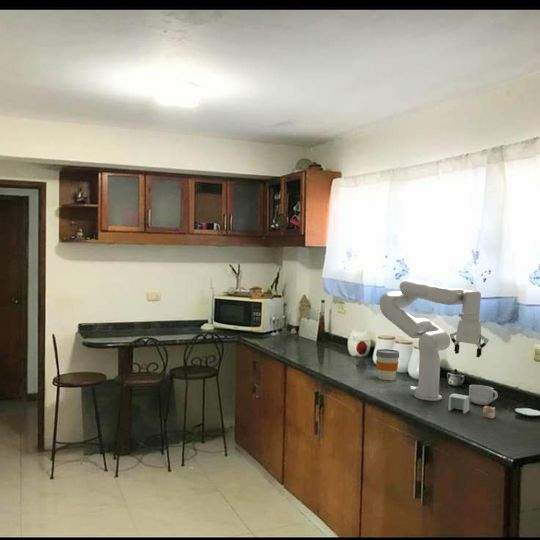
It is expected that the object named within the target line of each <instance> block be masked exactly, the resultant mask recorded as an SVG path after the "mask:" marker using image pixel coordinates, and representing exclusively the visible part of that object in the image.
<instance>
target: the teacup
mask: <svg viewBox="0 0 540 540" xmlns="http://www.w3.org/2000/svg"><path fill="white" fill-rule="evenodd" d="M468 387H469V390H468V396H470V398H469V401H471V402H472V403H473V404H475V405H476V404H477V405H481V406H482V405H483V406H489V404H490V403H492V402H493V401H495V400H497V398H498V397H499V395H498V394H499V393H498V392H497V391H496V390H494V389H495V388H493V387H491V386H488V385H481V384H470V385H469V386H468Z"/></svg>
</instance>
